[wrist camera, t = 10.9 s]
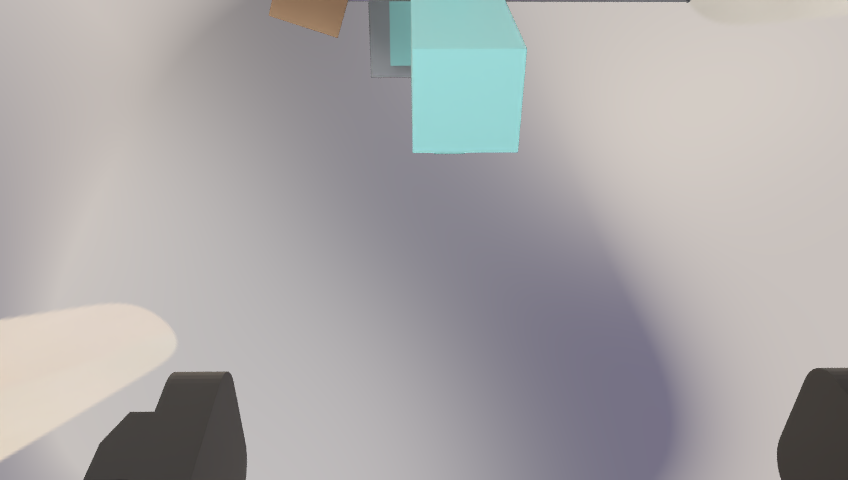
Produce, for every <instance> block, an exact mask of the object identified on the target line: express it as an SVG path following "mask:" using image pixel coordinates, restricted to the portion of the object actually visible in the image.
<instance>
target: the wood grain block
mask: <svg viewBox="0 0 848 480" xmlns="http://www.w3.org/2000/svg"><path fill="white" fill-rule="evenodd" d="M347 2H348V0H272V3H271V8H270V12H269V16H272V17H275V18H278V19H281V20H284V21H287V22H290V23H293V24H296V25H300V26H302V27H306V28H309V29H312V30H315V31H318V32H321V33H324V34H327V35H330V36H333V37H336V38H338V35H339V31H340V27H341V24H342V20H343V17H344V13H345V9H346V6H347Z"/></svg>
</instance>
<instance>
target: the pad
mask: <svg viewBox="0 0 848 480" xmlns="http://www.w3.org/2000/svg"><path fill="white" fill-rule="evenodd" d="M369 27H370V57H371V77H372V78H377V77H378V78H382V77H383V78H392V77H394V78H395V77H396V78H401V77H402V78H407V77H408V78H411V66H391V63H390V15H389V1H369Z"/></svg>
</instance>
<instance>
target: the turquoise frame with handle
mask: <svg viewBox="0 0 848 480" xmlns="http://www.w3.org/2000/svg"><path fill="white" fill-rule="evenodd" d="M389 15H390V63H391V66H411V89H412V90H411V92H412V142H413V153H434V154H465V153H472V152H473V153H476V152H478V153H479V152H481V153H483V152H518V146H519V134H520V123H521V111H522V100H523V89H524V77H525V66H526V53H527V48H526V45H525V43H524V41H523V39H522V37H521V34H520V32H519V30H518V28H517V25H516V23H515V21H514V19H513V17H512V15H511V12H510V10H509V8H508V5H507V3H506V1H505V0H411V1H389Z"/></svg>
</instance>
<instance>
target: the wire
mask: <svg viewBox="0 0 848 480" xmlns="http://www.w3.org/2000/svg"><path fill="white" fill-rule="evenodd" d="M348 1H411V0H348ZM505 1H521V2H522V1H523V2H524V1H525V2H527V1H528V2H529V1H530V2H531V1H534V2H547V1H549V2H551V1H552V2H553V1H555V2H559V1H560V2H567V1H568V2H687V3H688V2H690V0H505Z"/></svg>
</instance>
